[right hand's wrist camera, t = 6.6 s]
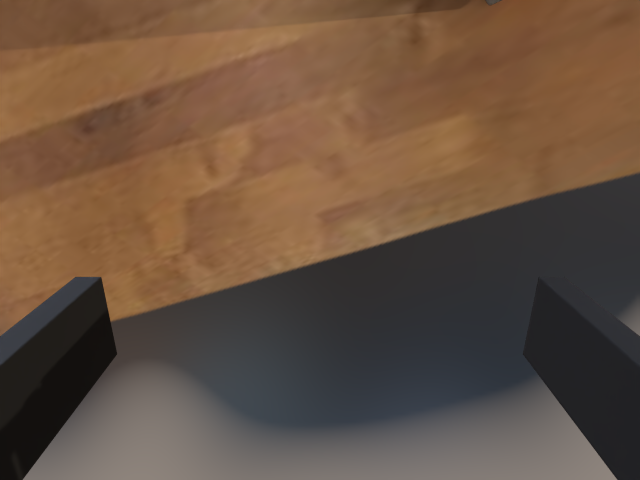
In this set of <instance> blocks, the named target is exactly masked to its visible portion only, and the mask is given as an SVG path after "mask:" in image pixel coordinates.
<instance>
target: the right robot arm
mask: <svg viewBox="0 0 640 480" xmlns="http://www.w3.org/2000/svg"><path fill="white" fill-rule="evenodd" d="M116 355H117V352H116V347H115V342H114V337H113V332H112V327H111V322H110V318H109V313H108V308H107V303H106V298H105V293H104V289H103V284H102V279H101V277H75V278H74V279H72V280H71V281H70V282H69V283H67V284H66V285H65V286H64V287H62V288H61V289H60V290H59V291H57V292H56V293H55V294H53V295H52V296H51V297H50V298H48V299H47V300H46V301H45V302H43V303H42V304H41V305H39V306H38V307H37V308H36V309H34V310H33V311H32V312H31V313H29V314H28V315H27V316H25V317H24V318H23V319H22V320H20V321H19V322H18V323H17V324H15V325H14V326H13V327H12V328H10V329H9V330H8V331H6V332H5V333H4V334H3V335H1V336H0V480H23V478H24V477H25V476H26V474H27V473H28V472H29V470H30V469H31V468H32V466H33V465H34V464H35V462H36V461H37V460H38V458H39V457H40V456H41V454H42V453H43V452H44V451H45V449H46V448H47V447H48V445H49V444H50V443H51V441H52V440H53V439H54V437H55V436H56V434H57V433H58V432H59V431H60V429H61V428H62V427H63V425H64V424H65V423H66V421H67V420H68V419H69V417H70V416H71V415H72V413H73V412H74V411H75V409H76V408H77V407H78V405H79V404H80V403H81V401H82V400H83V399H84V397H85V396H86V395H87V393H88V392H89V391H90V389H91V388H92V387H93V385H94V384H95V383H96V381H97V380H98V379H99V377H100V376H101V375H102V373H103V372H104V371H105V369H106V368H107V367H108V366H109V364H110V363H111V361H112V360H113V359H114V358H115V356H116ZM523 355H524V356H525V358H526V359H527V360H528V362H529V363H530V364H531V366H532V367H533V368H534V369H535V371H536V372H537V373H538V375H539V376H540V377H541V379H542V380H543V381H544V383H545V384H546V385H547V387H548V388H549V389H550V391H551V392H552V393H553V395H554V396H555V397H556V399H557V400H558V401H559V403H560V404H561V405H562V407H563V408H564V409H565V411H566V412H567V413H568V415H569V416H570V417H571V419H572V420H573V421H574V423H575V424H576V425H577V427H578V428H579V429H580V431H581V432H582V433H583V435H584V436H585V437H586V439H587V440H588V441H589V442H590V444H591V445H592V447H593V448H594V449H595V451H596V452H597V453H598V455H599V456H600V457H601V458H602V460H603V461H604V462H605V464H606V465H607V466H608V468H609V469H610V470H611V472H612V473H613V474H614V476H615V477H616V478H617V480H640V336H639V335H637V334H636V333H635V332H634V331H632V330H631V329H630V328H628V327H627V326H626V325H625V324H623V323H622V322H621V321H620V320H618V319H617V318H616V317H615V316H613V315H612V314H611V313H609V312H608V311H607V310H606V309H604V308H603V307H602V306H601V305H599V304H598V303H597V302H595V301H594V300H593V299H592V298H590V297H589V296H588V295H587V294H585V293H584V292H583V291H581V290H580V289H579V288H578V287H576V286H575V285H574V284H573V283H571V282H570V281H569V280H568V279H566V278H565V277H539V279H538V284H537V288H536V293H535V298H534V303H533V308H532V313H531V318H530V322H529V327H528V332H527V337H526V342H525V347H524V351H523Z"/></svg>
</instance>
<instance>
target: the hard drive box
mask: <svg viewBox="0 0 640 480" xmlns="http://www.w3.org/2000/svg"><path fill="white" fill-rule="evenodd" d="M485 1H486V2H487V4H488V5H492V4H495V3H497V2H499V1H502V0H485Z"/></svg>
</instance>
